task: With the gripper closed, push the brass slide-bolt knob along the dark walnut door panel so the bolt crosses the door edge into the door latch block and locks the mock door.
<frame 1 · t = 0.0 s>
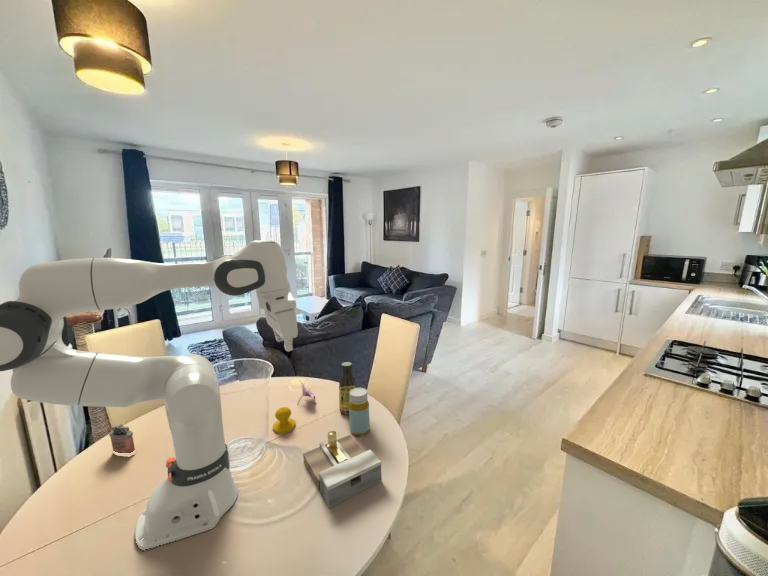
hand: (284, 345, 89), 39 cm above the table, tool pointing down, fingers open, 8 cm apart
doorknob: (284, 427, 115), on the table
door latch block: (343, 475, 91), on the table
bottle: (360, 431, 112), on the table
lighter: (124, 453, 103), on the table
lily: (307, 402, 132), on the table
bolt: (336, 447, 94), point 6 cm above the table, slide at 0.0 cm
sauce bottle: (347, 411, 125), on the table
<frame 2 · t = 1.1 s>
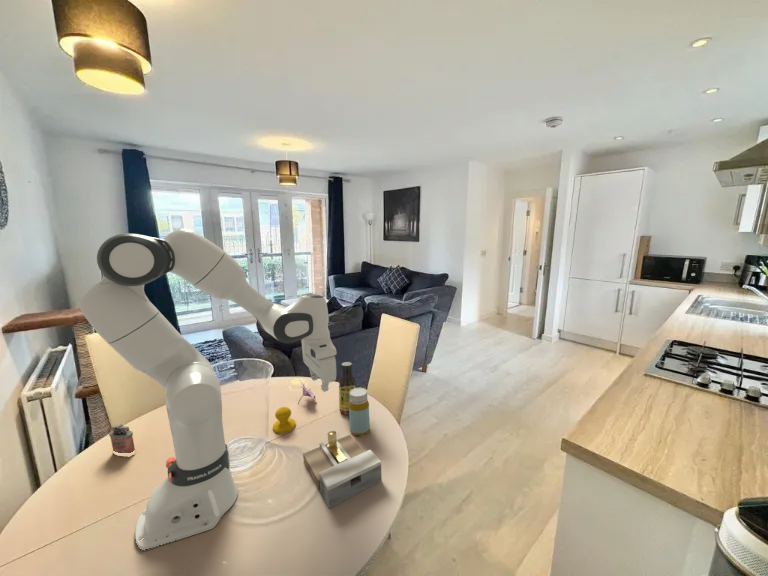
hand: (319, 384, 101), 22 cm above the table, tool pointing down, fingers open, 8 cm apart
nothing on the table moved.
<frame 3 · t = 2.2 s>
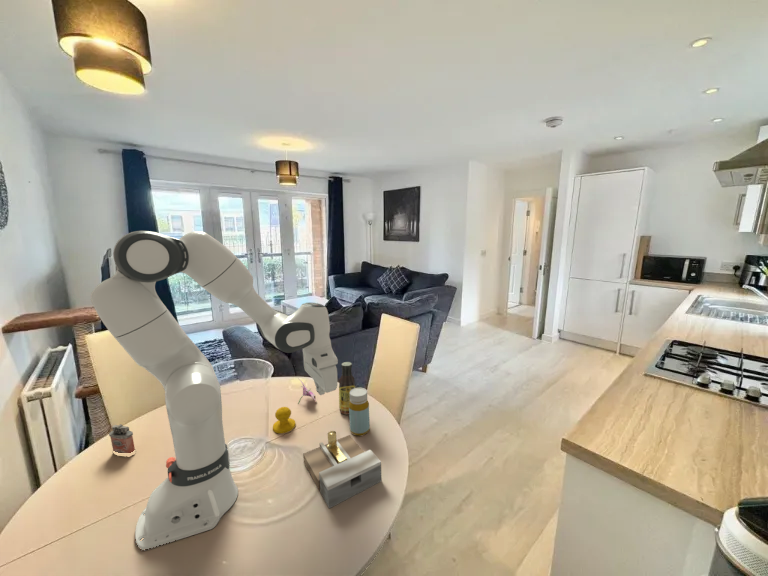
hand: (320, 393, 101), 19 cm above the table, tool pointing down, fingers closed
nothing on the table moved.
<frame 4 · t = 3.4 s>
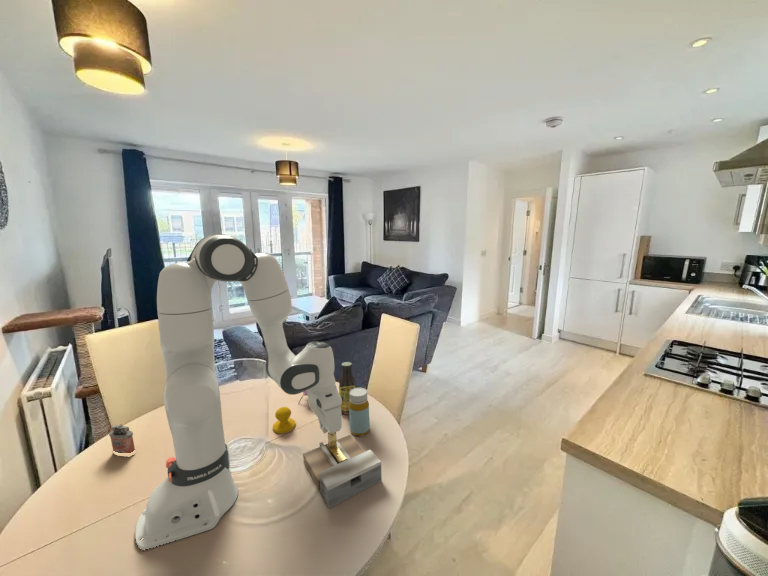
hand: (324, 430, 102), 7 cm above the table, tool pointing down, fingers closed
nothing on the table moved.
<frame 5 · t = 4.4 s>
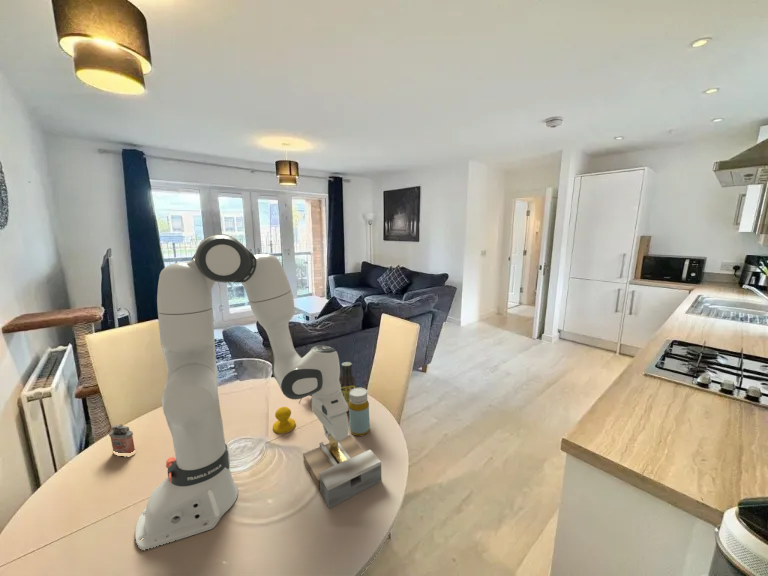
hand: (329, 437, 98), 7 cm above the table, tool pointing down, fingers closed
bolt: (337, 449, 93), point 6 cm above the table, slide at 1.1 cm, touching gripper
everything else where it was.
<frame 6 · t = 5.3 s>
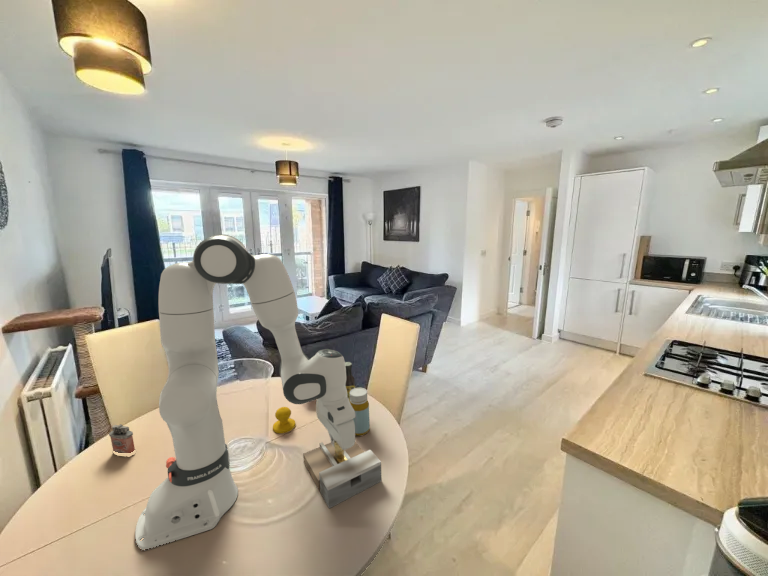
hand: (335, 444, 95), 7 cm above the table, tool pointing down, fingers closed
bolt: (343, 457, 90), point 6 cm above the table, slide at 5.1 cm, touching gripper
everything else where it was.
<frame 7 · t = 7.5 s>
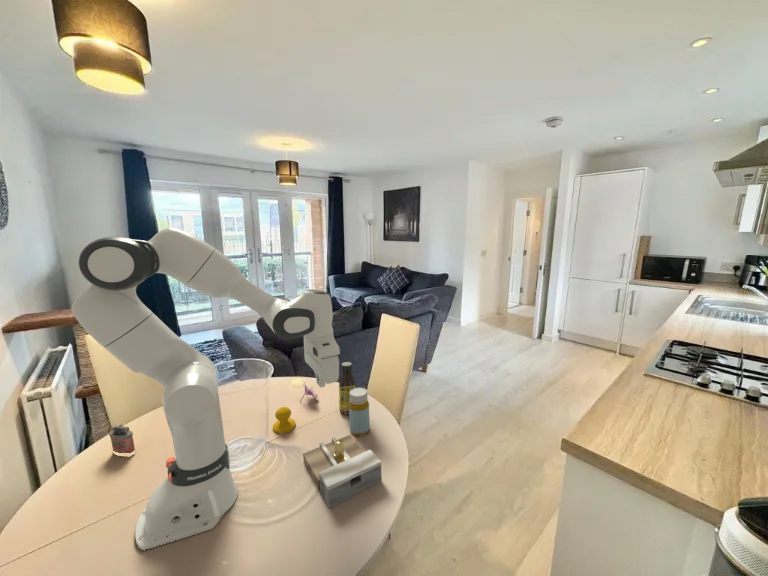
hand: (321, 385, 97), 24 cm above the table, tool pointing down, fingers closed
bolt: (343, 457, 90), point 6 cm above the table, slide at 5.0 cm
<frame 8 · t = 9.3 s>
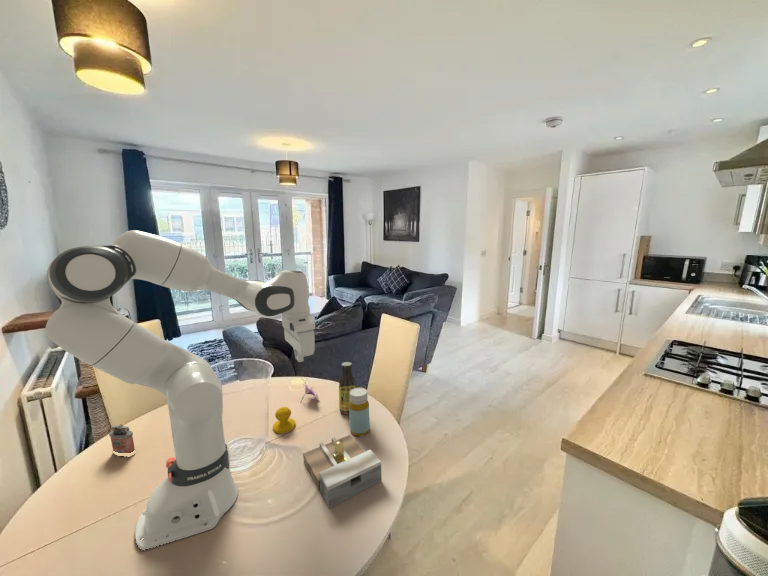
hand: (299, 360, 102), 29 cm above the table, tool pointing down, fingers closed
at the end: bolt slide at 5.0 cm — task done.
